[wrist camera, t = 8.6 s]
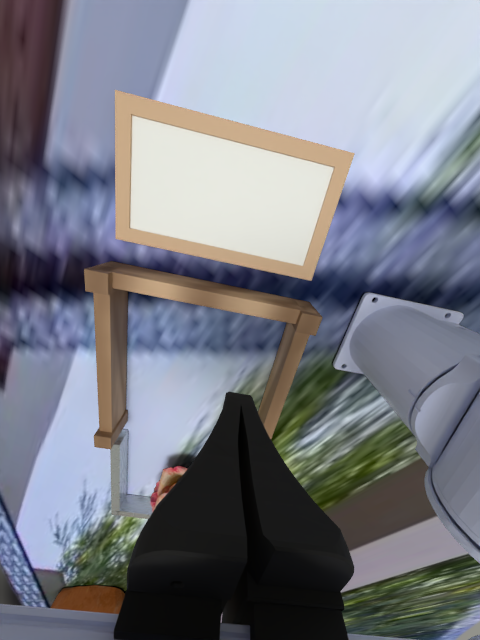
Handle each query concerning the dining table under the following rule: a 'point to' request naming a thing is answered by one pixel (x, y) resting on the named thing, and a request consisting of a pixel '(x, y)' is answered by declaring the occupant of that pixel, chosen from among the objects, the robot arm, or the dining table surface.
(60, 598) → the bread
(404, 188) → the dining table surface
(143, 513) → the stand tray
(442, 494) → the robot arm
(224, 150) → the frame lid
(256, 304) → the wooden frame
